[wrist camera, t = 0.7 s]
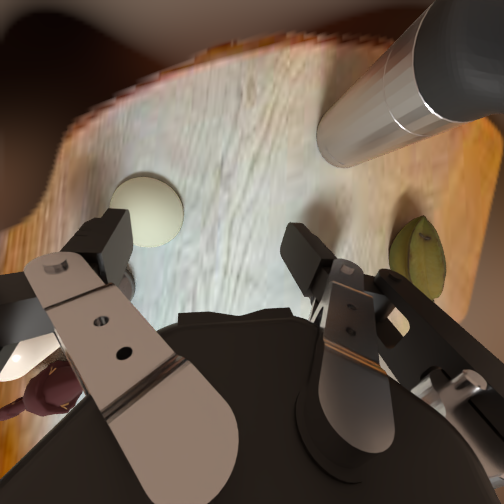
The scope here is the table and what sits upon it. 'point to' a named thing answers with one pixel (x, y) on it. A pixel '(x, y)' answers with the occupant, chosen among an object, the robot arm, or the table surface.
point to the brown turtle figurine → (47, 393)
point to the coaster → (150, 210)
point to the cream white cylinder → (28, 356)
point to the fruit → (419, 257)
